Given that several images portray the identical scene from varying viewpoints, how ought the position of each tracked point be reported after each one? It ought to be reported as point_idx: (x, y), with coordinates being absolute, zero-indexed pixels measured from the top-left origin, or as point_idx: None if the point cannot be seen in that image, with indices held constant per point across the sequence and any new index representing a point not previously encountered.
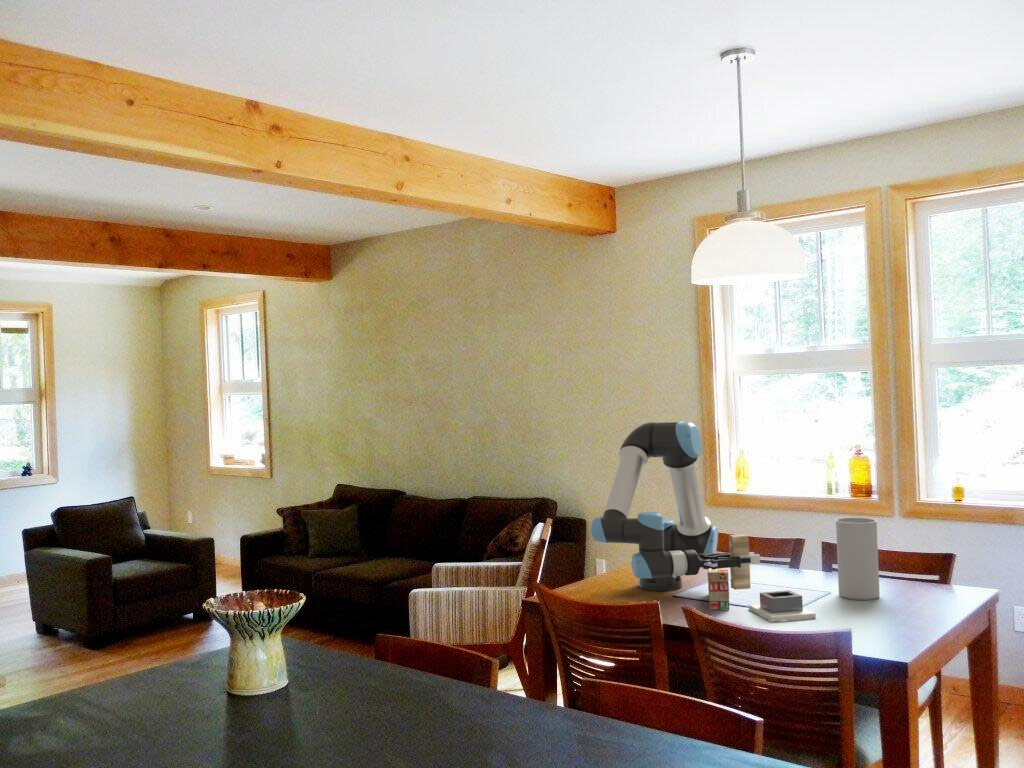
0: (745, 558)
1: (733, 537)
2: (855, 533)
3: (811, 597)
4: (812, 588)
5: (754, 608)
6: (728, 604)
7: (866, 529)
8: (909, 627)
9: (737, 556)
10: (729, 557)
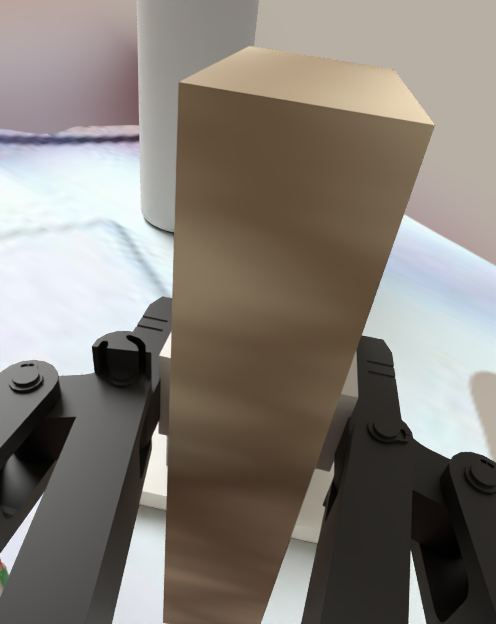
0: (395, 383)
1: (421, 143)
2: (238, 39)
3: (121, 264)
4: (50, 220)
5: (158, 496)
6: (4, 580)
7: (255, 24)
8: (484, 297)
9: (383, 432)
10: (386, 561)
